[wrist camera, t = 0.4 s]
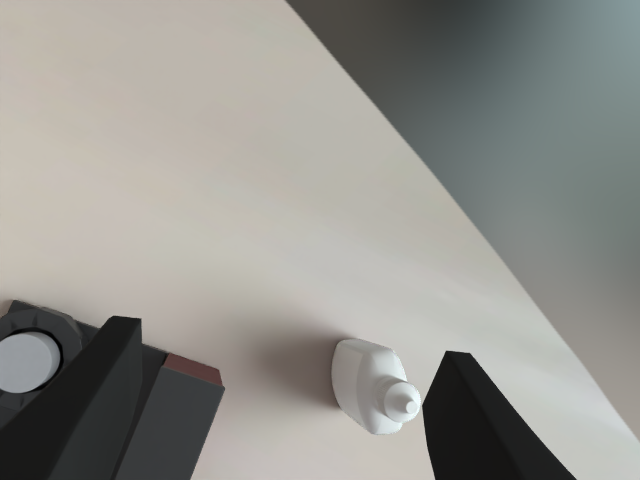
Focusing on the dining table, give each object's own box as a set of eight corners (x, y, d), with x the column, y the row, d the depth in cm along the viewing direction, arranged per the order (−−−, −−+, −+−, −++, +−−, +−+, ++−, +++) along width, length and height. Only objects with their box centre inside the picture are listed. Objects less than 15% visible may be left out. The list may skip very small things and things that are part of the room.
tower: (72, 542, 35) (37, 610, 28) (154, 346, 37) (142, 360, 30) (145, 562, 36) (131, 632, 28) (220, 369, 38) (225, 388, 31)
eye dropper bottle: (312, 396, 40) (358, 439, 28) (342, 330, 41) (398, 345, 29) (360, 418, 40) (425, 469, 29) (388, 352, 41) (462, 377, 30)
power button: (-10, 376, 33) (-24, 382, 31) (14, 323, 33) (3, 326, 31) (45, 394, 33) (36, 401, 31) (69, 342, 34) (61, 345, 32)
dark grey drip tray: (-84, 500, 33) (-107, 517, 31) (14, 295, 36) (0, 295, 33) (87, 546, 35) (78, 565, 33) (168, 348, 38) (166, 352, 35)
